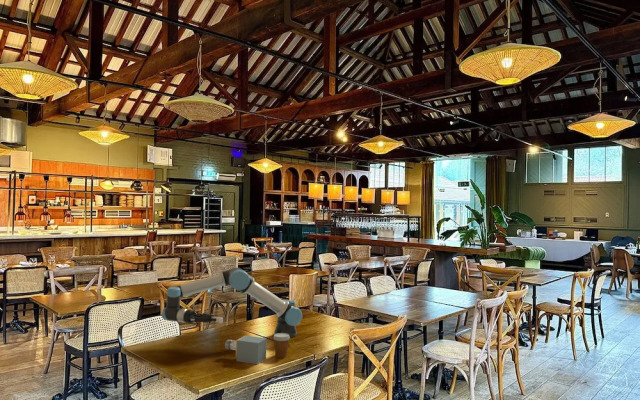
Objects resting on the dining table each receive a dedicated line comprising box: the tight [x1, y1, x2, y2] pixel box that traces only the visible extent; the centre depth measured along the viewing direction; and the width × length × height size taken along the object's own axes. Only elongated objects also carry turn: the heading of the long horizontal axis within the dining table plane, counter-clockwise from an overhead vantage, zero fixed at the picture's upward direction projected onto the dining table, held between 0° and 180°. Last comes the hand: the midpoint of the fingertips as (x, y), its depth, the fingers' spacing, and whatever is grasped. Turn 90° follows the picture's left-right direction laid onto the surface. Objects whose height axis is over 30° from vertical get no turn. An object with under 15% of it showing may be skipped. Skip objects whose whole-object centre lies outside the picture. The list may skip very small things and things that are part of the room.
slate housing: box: [235, 335, 268, 365], centre depth 246 cm, size 14×10×11 cm
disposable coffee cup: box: [272, 333, 291, 359], centre depth 253 cm, size 10×10×12 cm
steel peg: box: [224, 339, 236, 351], centre depth 248 cm, size 12×5×5 cm, turn 71°
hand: (222, 320), depth 251 cm, fingers closed
